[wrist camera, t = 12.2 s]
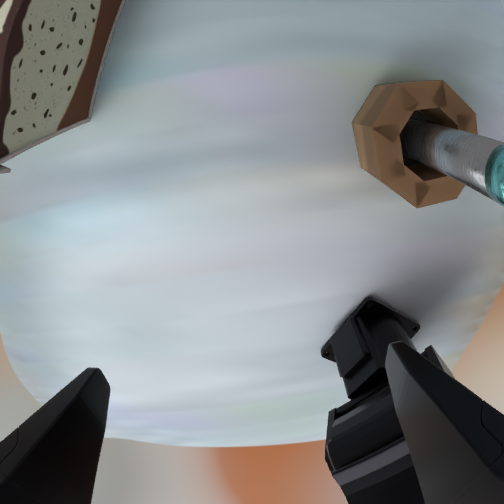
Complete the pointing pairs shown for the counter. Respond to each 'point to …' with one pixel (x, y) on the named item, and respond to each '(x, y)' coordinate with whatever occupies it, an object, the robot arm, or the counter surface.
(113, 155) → the counter surface
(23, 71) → the food container
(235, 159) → the counter surface
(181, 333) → the counter surface
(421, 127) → the teal-capped metal tube
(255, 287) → the counter surface
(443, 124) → the brown octagonal ring
